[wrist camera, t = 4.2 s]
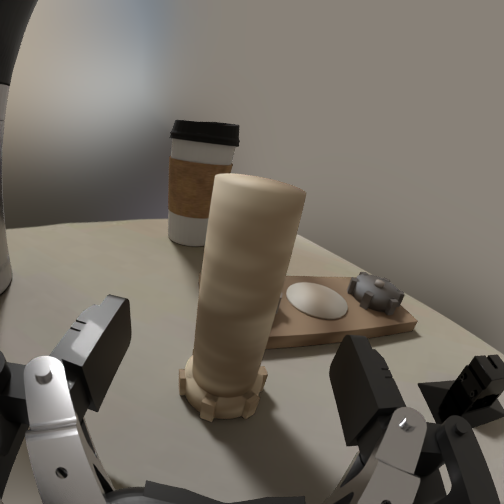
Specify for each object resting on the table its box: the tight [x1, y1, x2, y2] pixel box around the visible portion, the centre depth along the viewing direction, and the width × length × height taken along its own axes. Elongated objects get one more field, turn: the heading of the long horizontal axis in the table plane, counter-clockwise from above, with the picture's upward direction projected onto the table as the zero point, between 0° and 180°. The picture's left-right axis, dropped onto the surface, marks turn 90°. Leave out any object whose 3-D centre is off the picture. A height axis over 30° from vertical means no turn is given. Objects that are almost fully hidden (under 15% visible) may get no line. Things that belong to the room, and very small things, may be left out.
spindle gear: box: [179, 173, 306, 422], centre depth 13 cm, size 5×5×12 cm
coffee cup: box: [168, 120, 240, 246], centre depth 34 cm, size 8×8×15 cm
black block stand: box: [418, 355, 504, 428], centre depth 15 cm, size 12×7×5 cm, turn 88°
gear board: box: [199, 272, 418, 349], centre depth 25 cm, size 20×9×3 cm, turn 105°
